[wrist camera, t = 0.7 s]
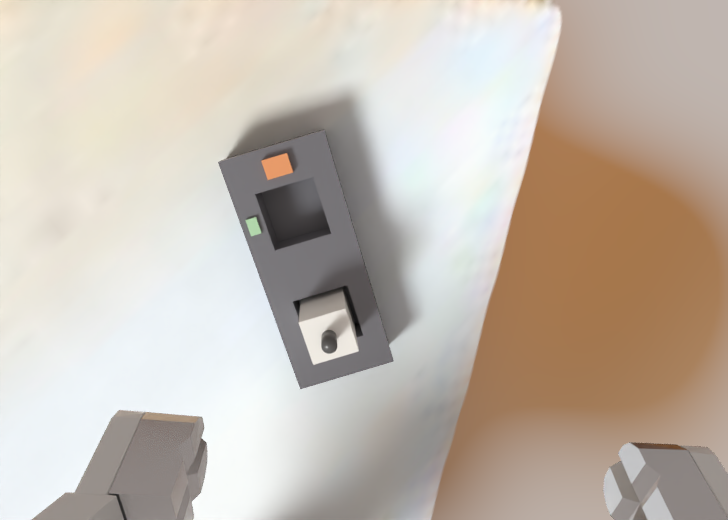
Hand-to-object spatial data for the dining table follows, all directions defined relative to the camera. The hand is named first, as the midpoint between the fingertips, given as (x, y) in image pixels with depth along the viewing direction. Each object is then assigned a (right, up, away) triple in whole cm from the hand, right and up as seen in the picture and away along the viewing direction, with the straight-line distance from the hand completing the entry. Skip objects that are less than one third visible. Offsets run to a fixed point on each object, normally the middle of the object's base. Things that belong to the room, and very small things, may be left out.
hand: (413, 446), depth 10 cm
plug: (-5, -1, +45) cm, 45 cm away
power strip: (-6, +4, +44) cm, 45 cm away
